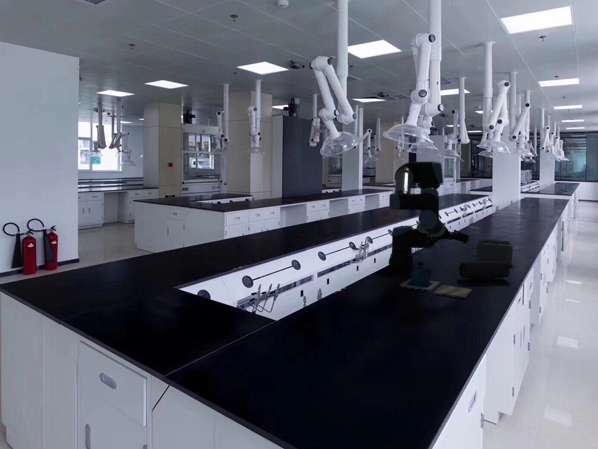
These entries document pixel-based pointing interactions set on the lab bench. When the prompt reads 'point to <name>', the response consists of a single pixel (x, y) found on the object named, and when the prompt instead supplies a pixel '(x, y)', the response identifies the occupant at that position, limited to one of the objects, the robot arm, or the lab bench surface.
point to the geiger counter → (493, 251)
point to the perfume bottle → (420, 275)
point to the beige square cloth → (453, 291)
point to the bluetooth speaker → (484, 270)
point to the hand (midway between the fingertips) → (452, 246)
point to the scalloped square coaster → (420, 287)
